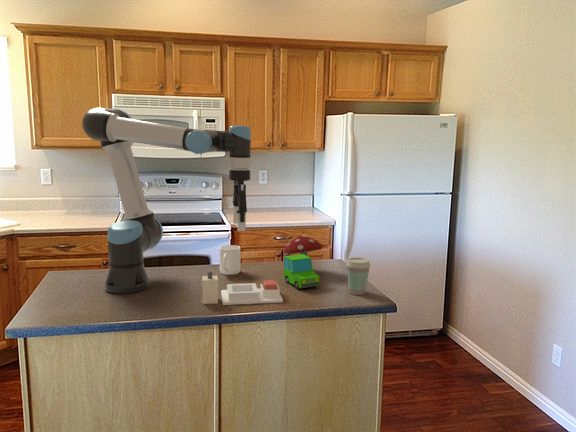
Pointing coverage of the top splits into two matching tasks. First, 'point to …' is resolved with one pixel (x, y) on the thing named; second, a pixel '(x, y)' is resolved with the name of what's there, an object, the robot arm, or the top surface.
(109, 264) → the robot arm
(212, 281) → the plug
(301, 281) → the toy car
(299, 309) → the top surface
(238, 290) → the socket plate
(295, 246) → the decorative mushroom
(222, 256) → the mug
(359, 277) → the coffee cup
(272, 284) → the switch
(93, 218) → the top surface
